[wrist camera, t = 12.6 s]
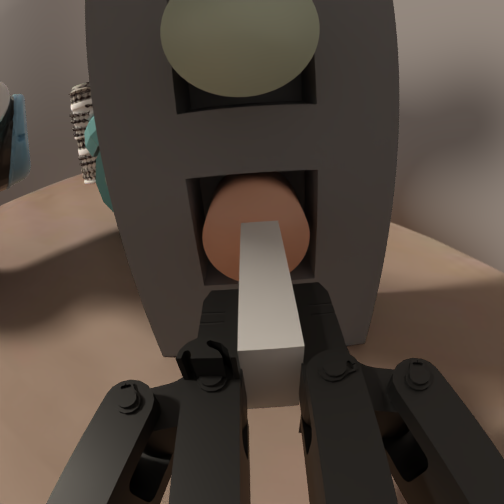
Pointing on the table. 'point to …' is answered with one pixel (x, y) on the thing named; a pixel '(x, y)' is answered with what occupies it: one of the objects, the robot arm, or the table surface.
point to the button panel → (247, 157)
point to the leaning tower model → (83, 128)
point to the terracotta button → (253, 218)
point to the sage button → (239, 43)
